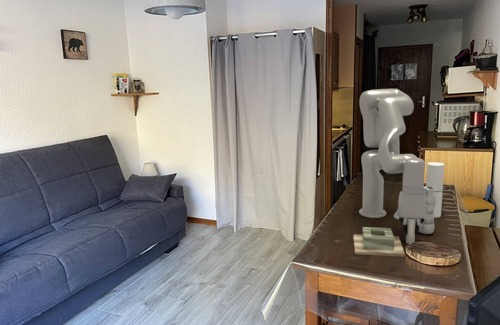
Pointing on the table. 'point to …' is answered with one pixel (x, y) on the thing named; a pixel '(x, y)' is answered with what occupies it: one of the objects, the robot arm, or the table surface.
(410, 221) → the peg
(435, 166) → the cylindrical container
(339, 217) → the table surface
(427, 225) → the plastic bottle
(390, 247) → the socket
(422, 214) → the robot arm
